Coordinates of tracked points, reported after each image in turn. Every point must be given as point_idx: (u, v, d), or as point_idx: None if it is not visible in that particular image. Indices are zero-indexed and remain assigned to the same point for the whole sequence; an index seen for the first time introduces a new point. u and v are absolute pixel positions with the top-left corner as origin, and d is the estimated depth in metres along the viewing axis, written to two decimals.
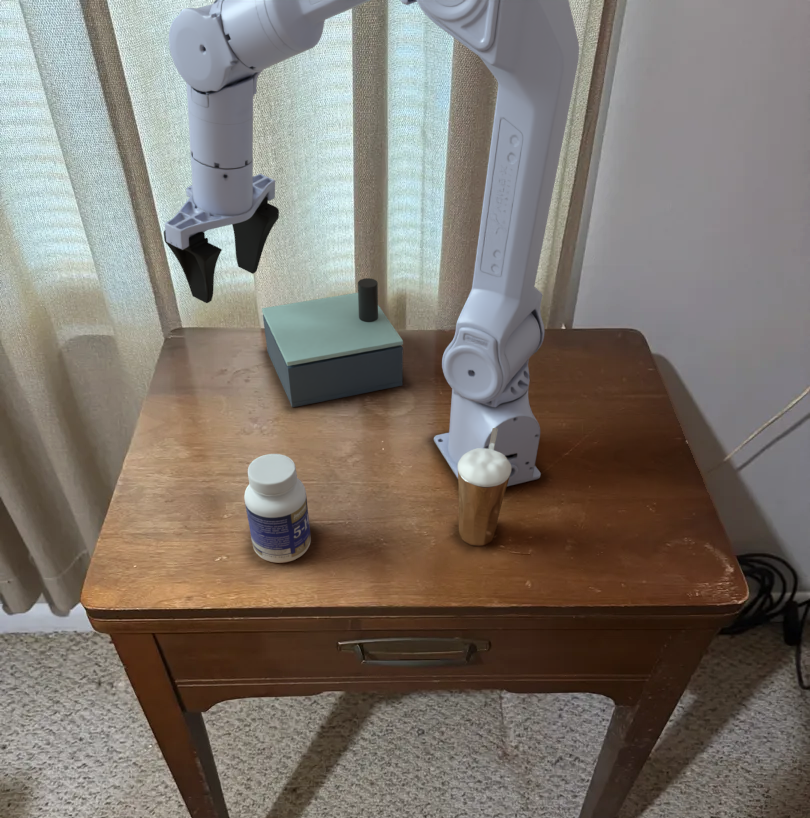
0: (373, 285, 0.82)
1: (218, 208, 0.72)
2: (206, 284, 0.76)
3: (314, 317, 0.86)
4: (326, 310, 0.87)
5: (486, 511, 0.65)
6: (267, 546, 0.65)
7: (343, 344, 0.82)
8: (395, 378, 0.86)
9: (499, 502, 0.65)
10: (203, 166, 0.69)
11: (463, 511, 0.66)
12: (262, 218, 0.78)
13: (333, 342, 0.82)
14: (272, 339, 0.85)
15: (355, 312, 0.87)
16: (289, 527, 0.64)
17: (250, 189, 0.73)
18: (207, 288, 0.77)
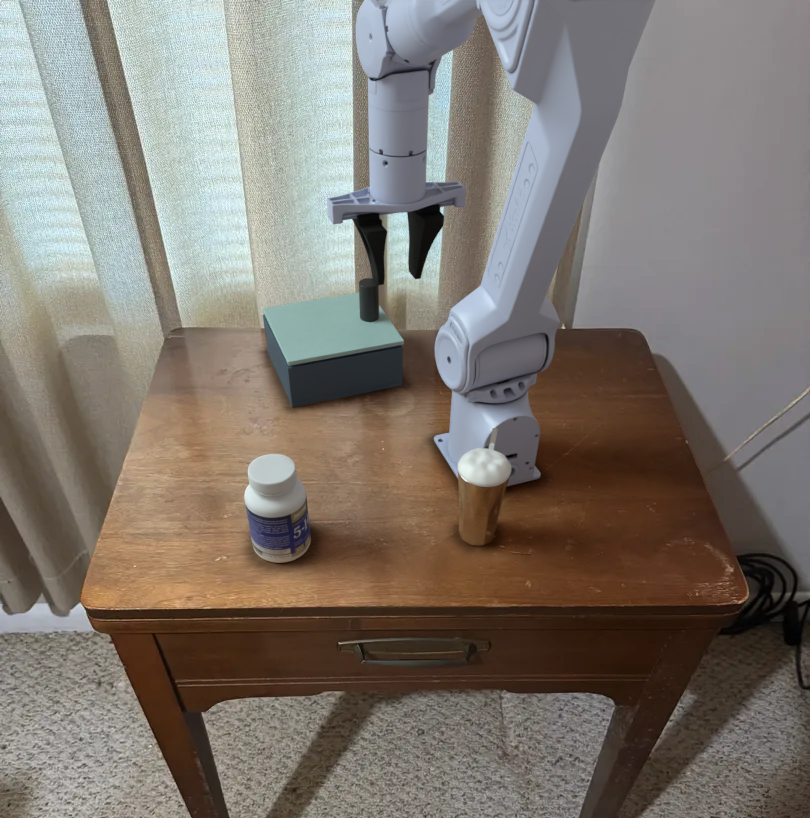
0: (374, 285, 0.83)
1: (379, 194, 0.75)
2: (375, 264, 0.80)
3: (315, 317, 0.86)
4: (327, 310, 0.87)
5: (486, 511, 0.65)
6: (267, 546, 0.65)
7: (344, 344, 0.82)
8: (395, 378, 0.86)
9: (499, 502, 0.65)
10: (371, 152, 0.73)
11: (463, 511, 0.66)
12: (422, 222, 0.78)
13: (334, 342, 0.82)
14: (272, 339, 0.85)
15: (356, 312, 0.87)
16: (289, 527, 0.64)
17: (414, 182, 0.74)
18: (376, 269, 0.81)
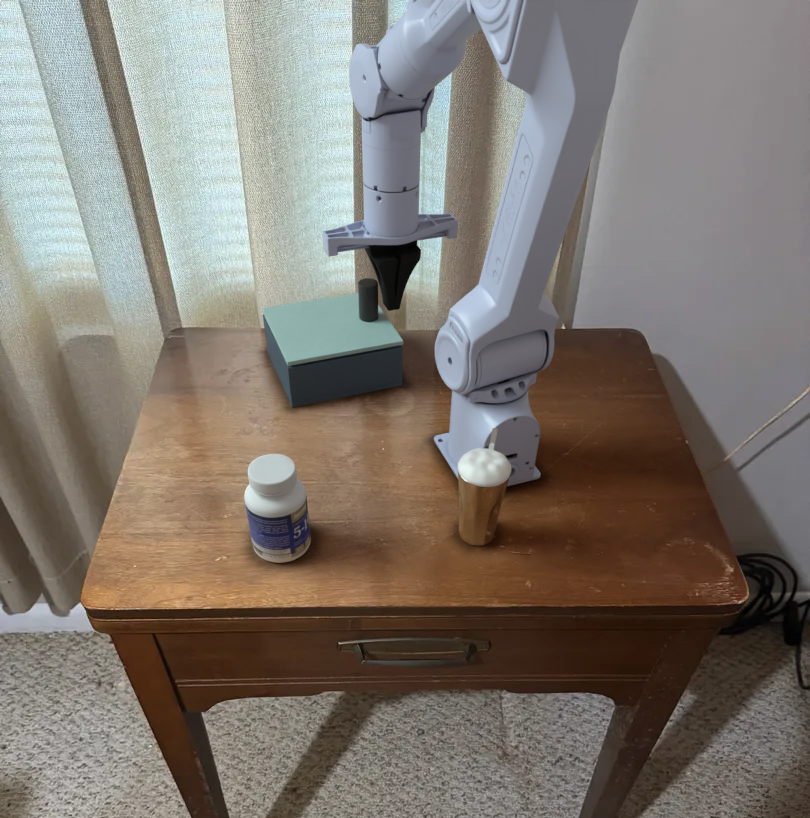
0: (373, 285, 0.82)
1: (373, 228, 0.77)
2: (386, 291, 0.83)
3: (314, 317, 0.86)
4: (326, 310, 0.87)
5: (486, 511, 0.65)
6: (267, 546, 0.65)
7: (343, 344, 0.82)
8: (395, 378, 0.86)
9: (499, 502, 0.65)
10: (365, 187, 0.76)
11: (463, 511, 0.66)
12: (399, 255, 0.80)
13: (333, 342, 0.82)
14: (272, 339, 0.85)
15: (355, 312, 0.87)
16: (289, 527, 0.64)
17: (407, 216, 0.76)
18: (387, 295, 0.83)
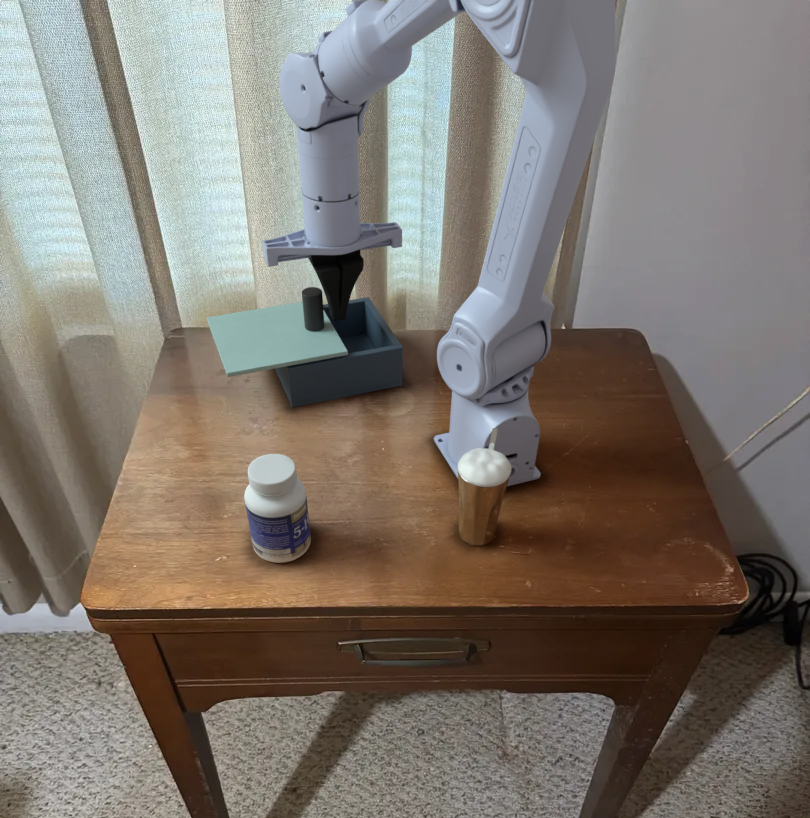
0: (317, 294, 0.81)
1: (313, 237, 0.76)
2: (330, 301, 0.81)
3: (259, 326, 0.84)
4: (272, 319, 0.85)
5: (486, 511, 0.65)
6: (267, 546, 0.65)
7: (286, 354, 0.80)
8: (395, 378, 0.86)
9: (499, 502, 0.65)
10: (303, 196, 0.74)
11: (463, 511, 0.66)
12: (341, 265, 0.78)
13: (276, 352, 0.81)
14: None
15: (301, 321, 0.85)
16: (289, 527, 0.64)
17: (347, 226, 0.75)
18: (332, 306, 0.82)
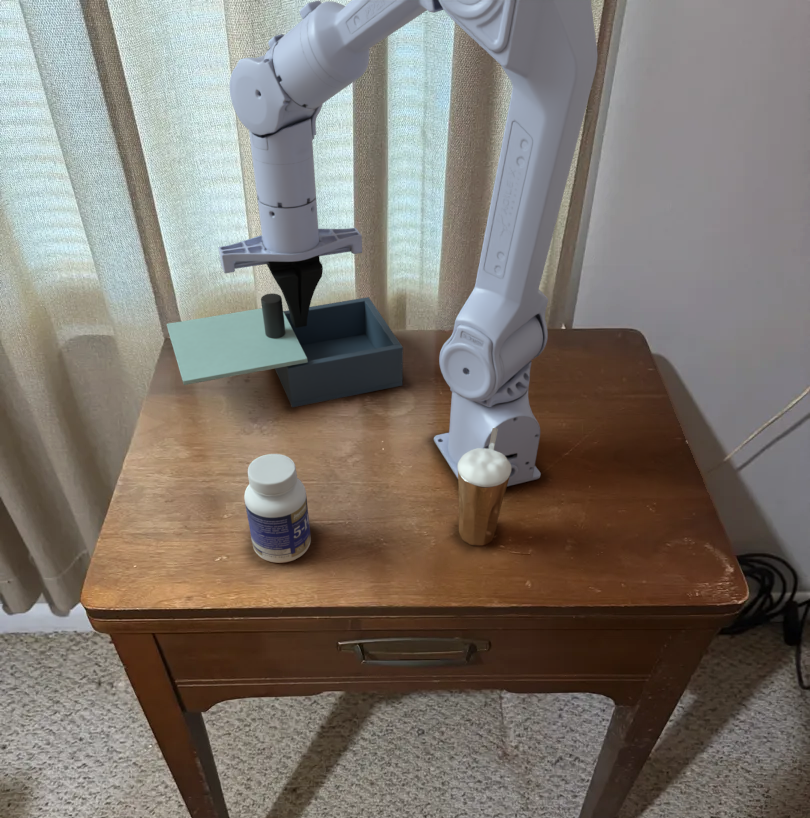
0: (276, 301, 0.80)
1: (269, 244, 0.75)
2: (290, 308, 0.80)
3: (219, 333, 0.83)
4: (233, 326, 0.84)
5: (486, 511, 0.65)
6: (267, 546, 0.65)
7: (244, 362, 0.79)
8: (395, 378, 0.86)
9: (499, 502, 0.65)
10: (258, 202, 0.73)
11: (463, 511, 0.66)
12: (299, 272, 0.77)
13: (234, 360, 0.79)
14: None
15: (262, 328, 0.84)
16: (289, 527, 0.64)
17: (303, 232, 0.74)
18: (292, 312, 0.81)
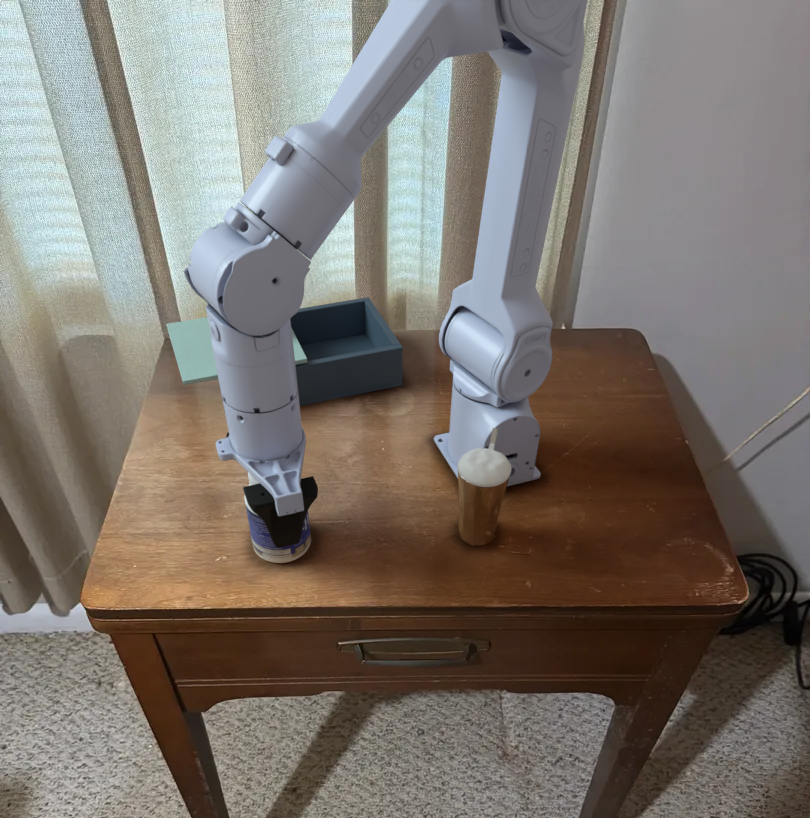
0: None
1: (291, 445, 0.58)
2: (302, 523, 0.63)
3: None
4: None
5: (486, 511, 0.65)
6: (267, 546, 0.65)
7: None
8: (395, 378, 0.86)
9: (499, 502, 0.65)
10: (271, 413, 0.55)
11: (463, 511, 0.66)
12: None
13: None
14: None
15: None
16: None
17: None
18: (302, 526, 0.63)
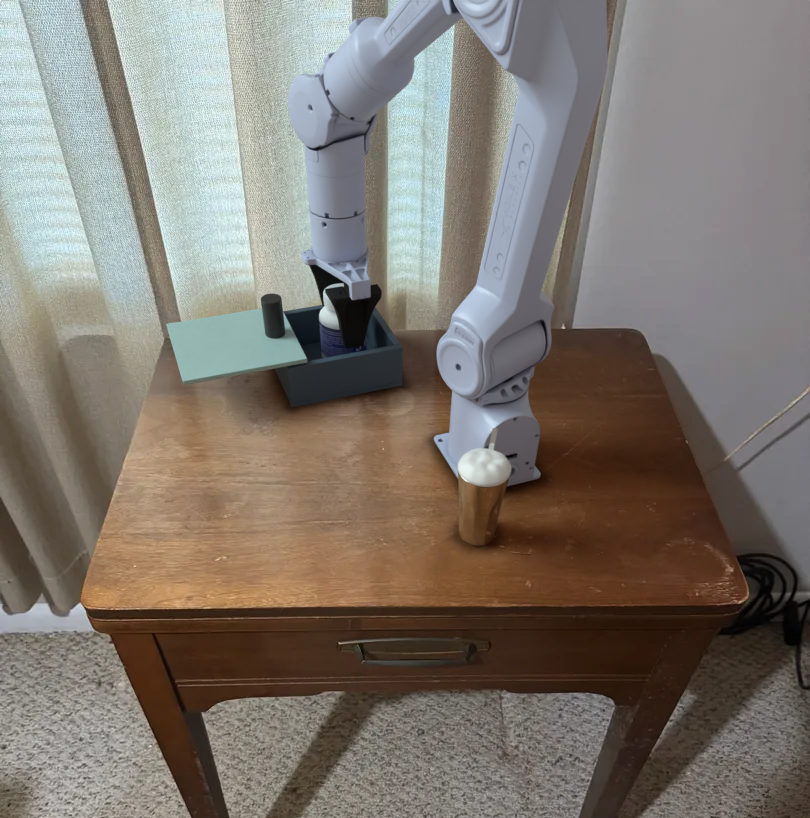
0: (276, 301, 0.80)
1: (359, 252, 0.78)
2: (367, 325, 0.81)
3: (219, 333, 0.83)
4: (233, 326, 0.84)
5: (486, 511, 0.65)
6: None
7: (244, 362, 0.79)
8: (395, 378, 0.86)
9: (499, 502, 0.65)
10: (347, 219, 0.74)
11: (463, 511, 0.66)
12: None
13: (234, 360, 0.79)
14: None
15: (262, 328, 0.84)
16: None
17: None
18: (366, 329, 0.82)
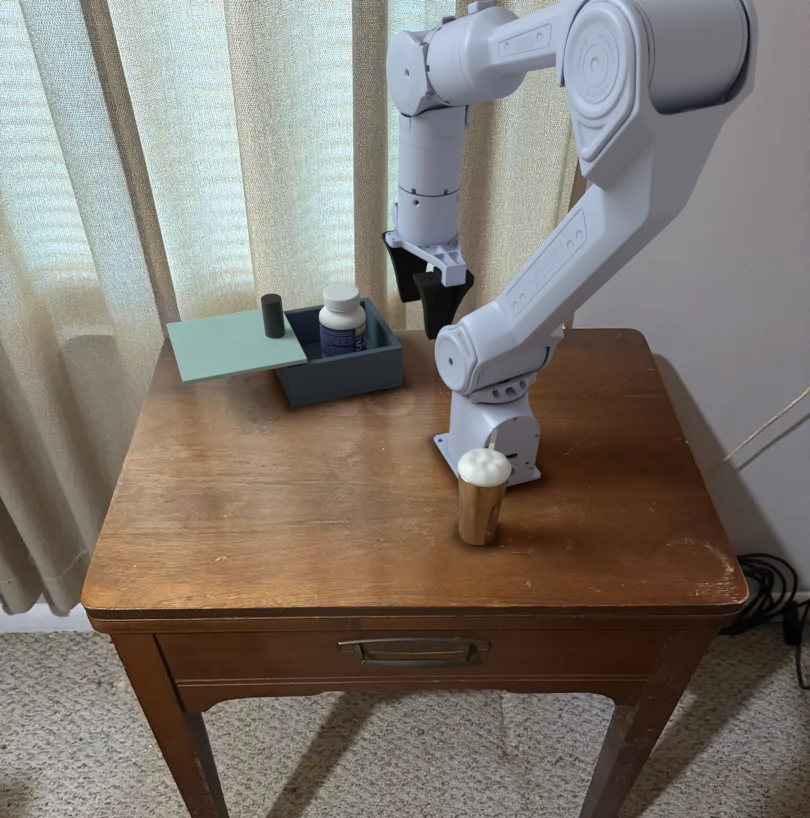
0: (276, 301, 0.80)
1: (451, 233, 0.71)
2: (454, 315, 0.74)
3: (219, 333, 0.83)
4: (233, 326, 0.84)
5: (486, 511, 0.65)
6: None
7: (244, 362, 0.79)
8: (395, 378, 0.86)
9: (499, 502, 0.65)
10: (442, 197, 0.67)
11: (463, 511, 0.66)
12: None
13: (234, 360, 0.79)
14: None
15: (262, 328, 0.84)
16: (353, 339, 0.84)
17: None
18: None
